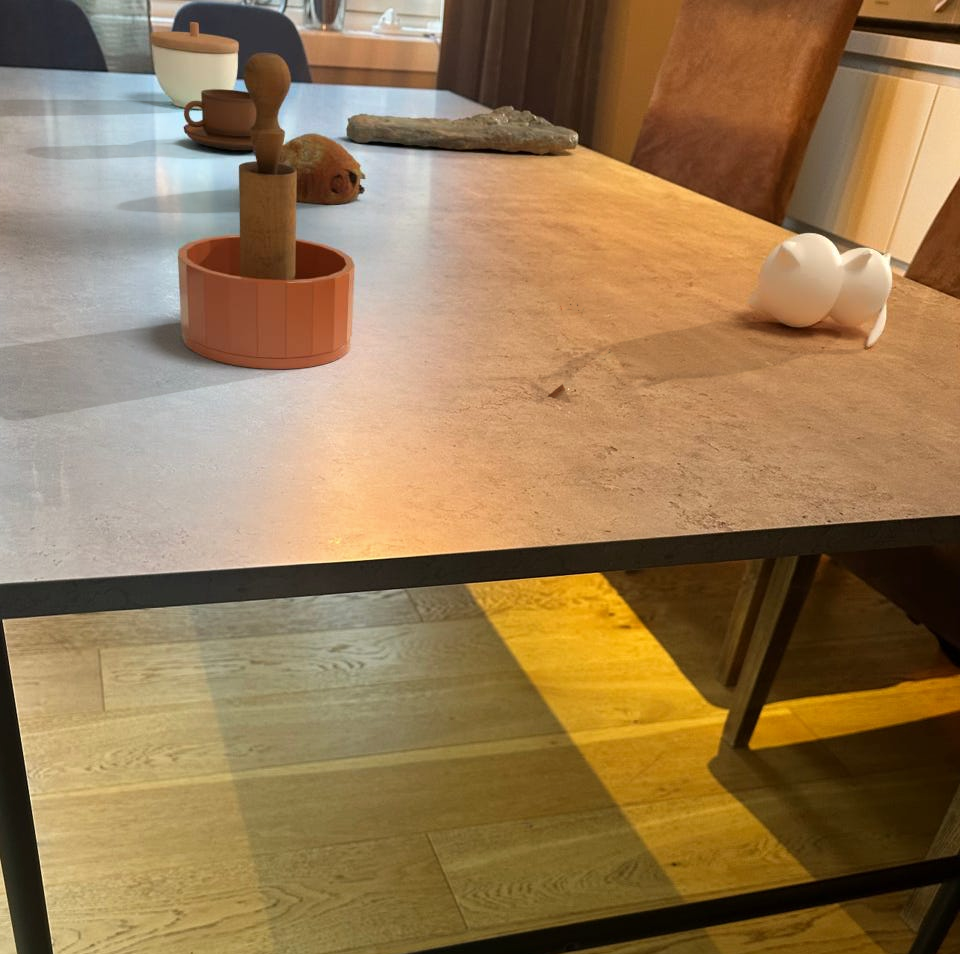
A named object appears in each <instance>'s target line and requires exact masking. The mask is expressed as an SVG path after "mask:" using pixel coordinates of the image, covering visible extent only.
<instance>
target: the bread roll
mask: <svg viewBox="0 0 960 954" xmlns="http://www.w3.org/2000/svg"><path fill="white" fill-rule="evenodd" d="M279 164H284V165H287V166H290V167H293V168H294V169H296V171H297V185H296V202H301V203H302V202H303V203H309V204H319V205H343V204H347V203H351V202H353V201H356V200H357V199H358V198H359V195H363V194H364V193H365V189H366V188H365V187H364V186H362V184H361V180H366V178H367V177H366V174H365V173H363V172H362V170H361V166H362V165H361V163H360V162H358V161H357V160H356V159H355V158H354V156H353V155H352V154H350V153H349V152H348V151H347V150H346V149H345V148H344V147H343V146H342V145H341V144H340V143H337V141H334V140H332V139H330V138H329V137H327V136H325V135H321V134H318V133H315V132H312V133H305V134H302V135H299V136H297V137H294V138H292V139H290V140H289V141H287V142H285V143H283V147H282V151H281V155H280V159H279Z"/></svg>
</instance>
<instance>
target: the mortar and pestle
mask: <svg viewBox="0 0 960 954" xmlns="http://www.w3.org/2000/svg"><path fill="white" fill-rule="evenodd" d="M291 83H292V78H291V71H290V68H289V65H288V63H286V61H285V59H284V58H283V57H281V56H280V55H278V54H276V53H271V52H258V53H255V54H253V55H251V56H250V57H249V58H248V59H247V61H246V62H245V64H244V68H243V84H244V85H245V89H246V90H247V91H246V92H248V93H249V95H250V97H251V99H252V101H253V103H254V105H255V108H256V120H255V124H254V126H253V127H251V128H250V135H251V141H252V145H253V149H254V150H253V152H254V156H255V160H256V161H255V160H253V161H247V162H246V161H245V162H242V163H240V164H239V165H238V195H239V196H238V197H239V200H238V201H239V235H240V277H247V278H254V279H268V280H295V252H296V239H297V201H296V185H297V171H296V169H294V168H293V167H290V166H287V165H284V164H279V159H280V155H281V151H282V147H283V145H284V144H285V143H284V142H285V137H286V136H285V135H286V131H285V130H284V129H282V128H281V125H280V123H279V114H280V113H279V112H280V110H281V107H282V105H283V103H284V102H285V99H286V97H287V96H288V93H289V92H290V90H291V89H290V88H291V85H292V84H291Z"/></svg>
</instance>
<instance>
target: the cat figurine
mask: <svg viewBox="0 0 960 954" xmlns="http://www.w3.org/2000/svg"><path fill="white" fill-rule="evenodd" d="M890 263H891V252H888V253H884V254H883V255H882V254H881V252H879V251H877V250H875V249H873V248H869V247H857V248H853V249H850V250H847V251H845V252H843V253H841V254H840V252H839V250H838V248H837V247H836V245H835V244H834V243H833V242H832V241H831V240H830V239H829V238H827V237H826V236H825V235H821V234H818V233H814V232H813V233H812V232H805V233H800V234H797V235H793V236H791V237H789V238H787V239H785V240H784V241H782V242H781V243H778V244H777V246H776V247H774V249H772V250H771V252H770V253H769V254H768V255H767V257H766V258H765V259H764V261H763V263H762V265H761V267H760V269H759V270H760V271H759V274H758V278H757V279H758V280H757V286H756V288H755V289H754V291H753V292H752V293H751V295H750V296H749V297H748V299H747V300H746V306H747V307H748V308H749V309H752V310H755V311H758V312H763V313H765V314H766V313H767V314H769V315H771V316H772V317H773V318H774V319H775V320H777V321H778V322H779V323H781V324H783V325H785V326H788V327H791V328H806V327H810V326H812V325H814V324H816V323H818V322H820V321H827V319H828V318H830V319H832V320H833V321H834V322H836V323H838V324H839V325H842V326H845V327H848V328H849V327H859V326H861V325H863V324H866V323H867V322H869V321H870V320H872V319H873V318H874V317H875V316H877V314H878V316H877V318H876V321H875V322H874V325H873V327H872V329H871V331H870V333H869V336H868V338H867V340H866V344H865V347H866V346H867V347H870V346H871V347H872V346H873V345H874V344H875V343H876V342H877V341H878V339H879V337H880V336H881V335H882V333H883V330H884V328H885V326H886V320H887V300H888V298H889V297H890V294H891V291H892V287H893V285H892V284H893V273H892V269H891V266H890ZM821 319H822V320H821ZM867 347H866V348H867ZM871 347H870V348H871Z"/></svg>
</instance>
